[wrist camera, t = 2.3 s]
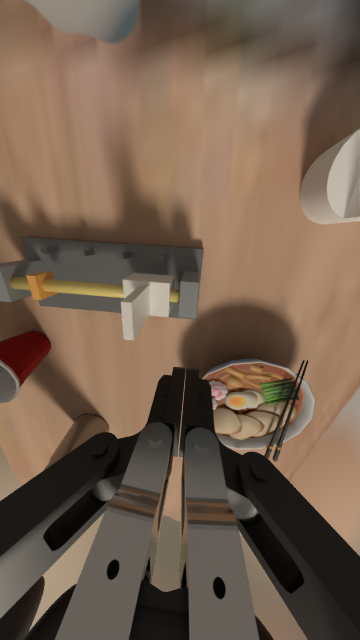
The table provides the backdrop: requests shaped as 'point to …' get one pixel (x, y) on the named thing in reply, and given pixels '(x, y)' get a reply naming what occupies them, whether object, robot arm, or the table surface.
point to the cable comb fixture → (98, 274)
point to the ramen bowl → (259, 404)
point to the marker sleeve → (144, 300)
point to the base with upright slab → (334, 184)
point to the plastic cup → (20, 361)
